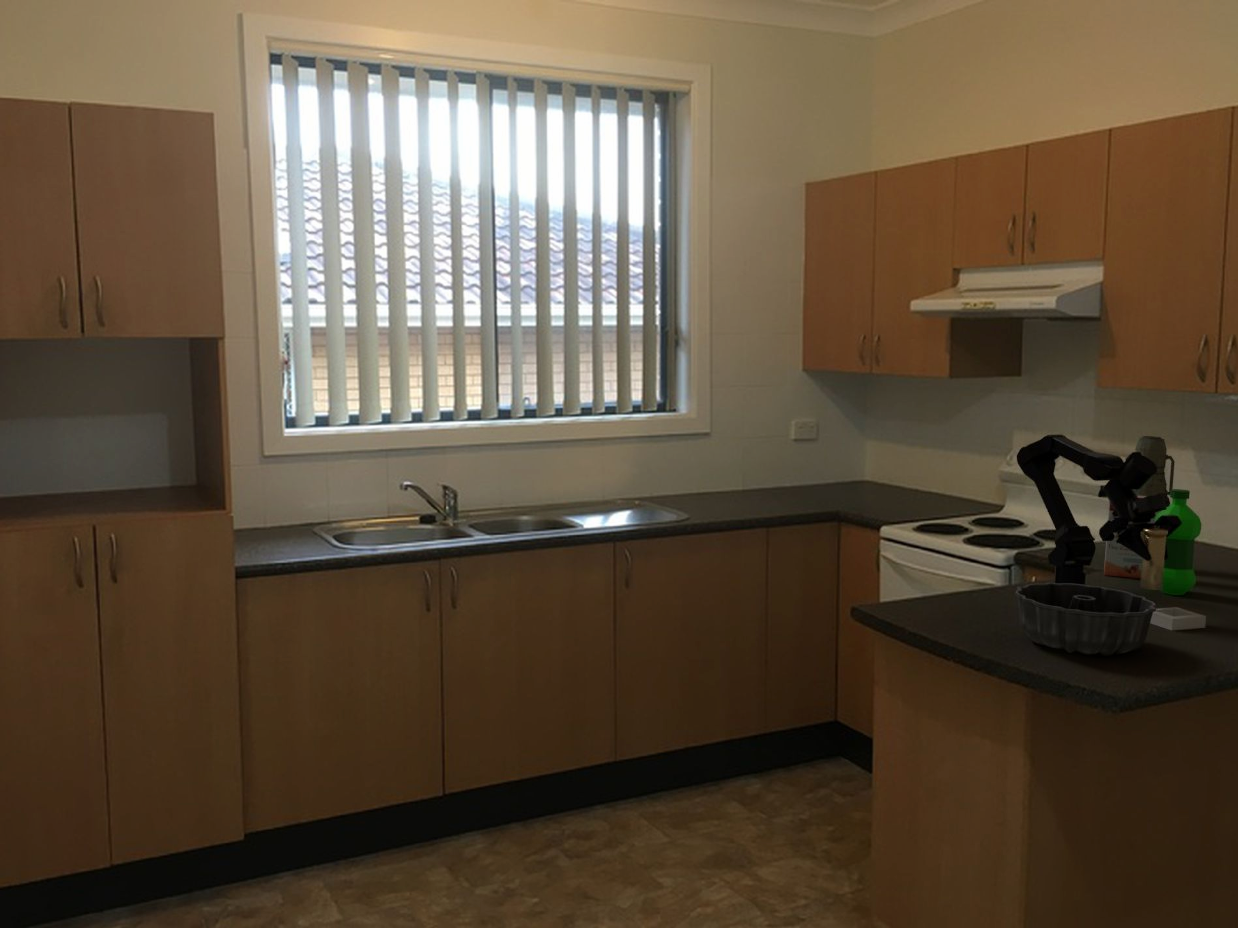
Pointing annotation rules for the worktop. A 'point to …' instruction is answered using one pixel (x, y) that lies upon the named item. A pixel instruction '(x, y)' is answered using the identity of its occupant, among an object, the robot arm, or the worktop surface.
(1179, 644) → the worktop surface
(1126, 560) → the cracker box
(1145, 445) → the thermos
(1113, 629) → the bundt pan
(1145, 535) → the gold cylinder
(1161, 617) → the frame
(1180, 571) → the plastic bottle
